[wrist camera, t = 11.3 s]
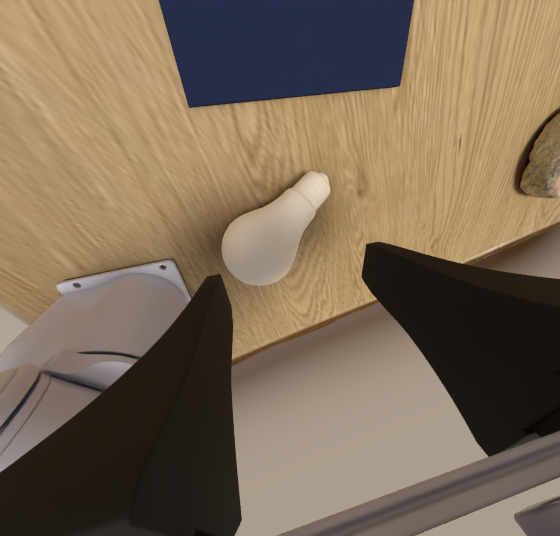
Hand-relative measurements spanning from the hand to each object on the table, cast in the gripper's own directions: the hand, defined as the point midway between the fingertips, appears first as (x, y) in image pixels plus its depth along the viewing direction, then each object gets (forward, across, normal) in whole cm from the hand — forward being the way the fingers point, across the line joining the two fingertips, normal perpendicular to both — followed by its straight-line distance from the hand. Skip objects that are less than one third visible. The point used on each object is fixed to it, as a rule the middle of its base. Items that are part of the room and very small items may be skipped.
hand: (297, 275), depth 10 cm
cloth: (+11, -4, -12) cm, 17 cm away
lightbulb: (+9, -5, -3) cm, 11 cm away
